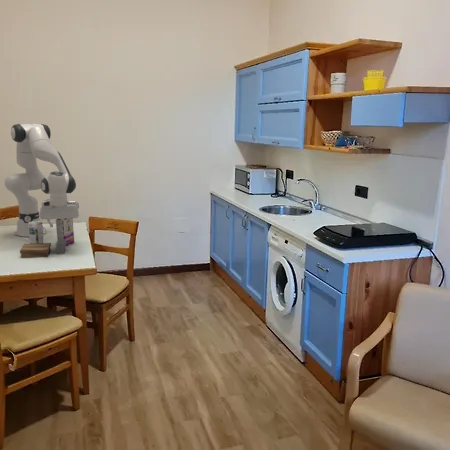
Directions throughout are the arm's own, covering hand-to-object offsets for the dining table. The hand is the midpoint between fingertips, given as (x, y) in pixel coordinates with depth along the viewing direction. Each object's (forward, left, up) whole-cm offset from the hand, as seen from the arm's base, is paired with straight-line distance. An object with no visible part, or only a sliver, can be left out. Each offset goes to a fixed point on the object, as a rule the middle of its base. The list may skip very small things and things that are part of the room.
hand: (60, 226), depth 261 cm
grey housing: (0, 0, -15) cm, 15 cm away
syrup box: (-14, -15, -15) cm, 26 cm away
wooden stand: (+2, -13, -15) cm, 20 cm away
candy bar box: (-15, +1, -15) cm, 21 cm away
